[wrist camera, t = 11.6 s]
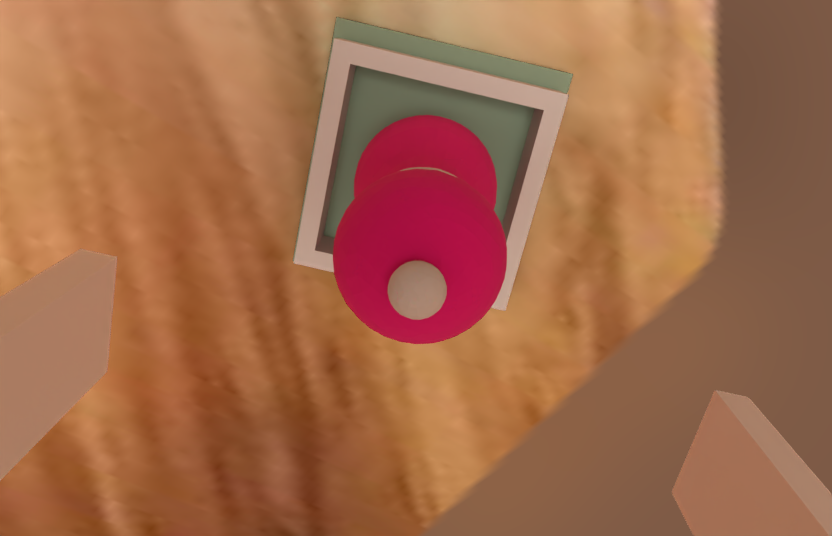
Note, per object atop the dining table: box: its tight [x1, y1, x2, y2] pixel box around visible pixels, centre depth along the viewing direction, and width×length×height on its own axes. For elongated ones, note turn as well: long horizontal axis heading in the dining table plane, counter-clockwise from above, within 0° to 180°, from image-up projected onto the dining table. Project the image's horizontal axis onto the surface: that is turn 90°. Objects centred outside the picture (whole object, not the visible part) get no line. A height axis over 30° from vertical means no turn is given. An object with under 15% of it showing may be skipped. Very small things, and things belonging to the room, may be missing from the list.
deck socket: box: [293, 17, 573, 311], centre depth 37 cm, size 14×13×4 cm
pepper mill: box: [333, 115, 507, 344], centre depth 29 cm, size 7×7×20 cm
